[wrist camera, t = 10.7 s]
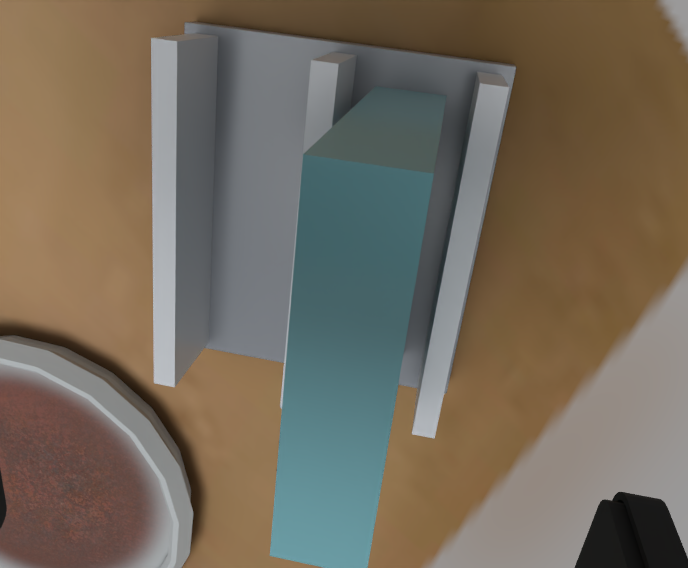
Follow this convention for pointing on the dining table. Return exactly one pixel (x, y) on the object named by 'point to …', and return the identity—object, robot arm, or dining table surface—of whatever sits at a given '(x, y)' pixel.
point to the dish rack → (284, 189)
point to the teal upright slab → (350, 321)
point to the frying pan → (85, 467)
